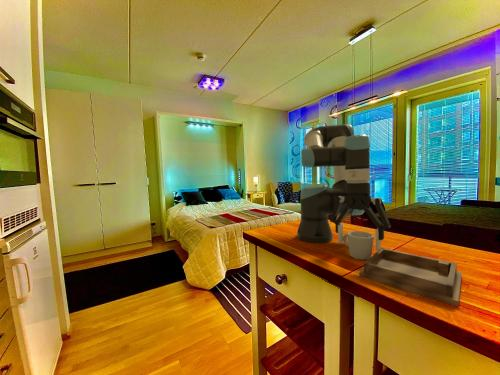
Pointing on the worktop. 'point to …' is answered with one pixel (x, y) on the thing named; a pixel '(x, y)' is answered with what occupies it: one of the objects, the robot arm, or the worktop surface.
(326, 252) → the worktop surface
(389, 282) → the square wooden tray
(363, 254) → the cup
